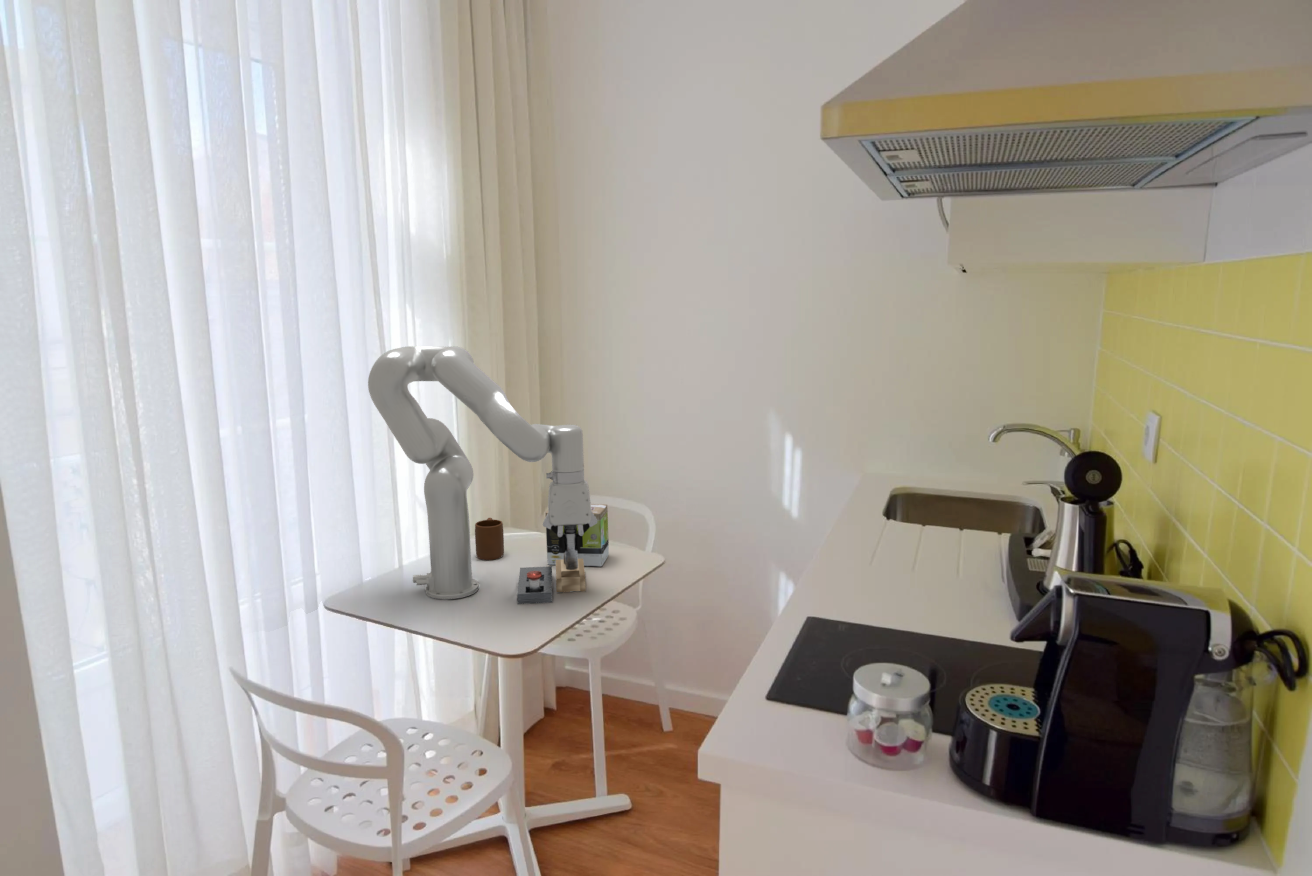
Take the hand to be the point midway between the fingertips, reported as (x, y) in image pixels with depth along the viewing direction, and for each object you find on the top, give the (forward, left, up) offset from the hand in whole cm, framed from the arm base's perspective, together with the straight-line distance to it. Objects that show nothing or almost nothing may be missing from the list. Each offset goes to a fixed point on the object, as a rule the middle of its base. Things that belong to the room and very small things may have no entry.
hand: (571, 549), depth 191 cm
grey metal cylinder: (0, 0, -5) cm, 5 cm away
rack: (0, +4, -10) cm, 10 cm away
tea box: (+2, +20, -10) cm, 22 cm away
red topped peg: (-9, -7, -8) cm, 14 cm away
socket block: (-9, 0, -10) cm, 13 cm away
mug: (-22, +29, -10) cm, 38 cm away
